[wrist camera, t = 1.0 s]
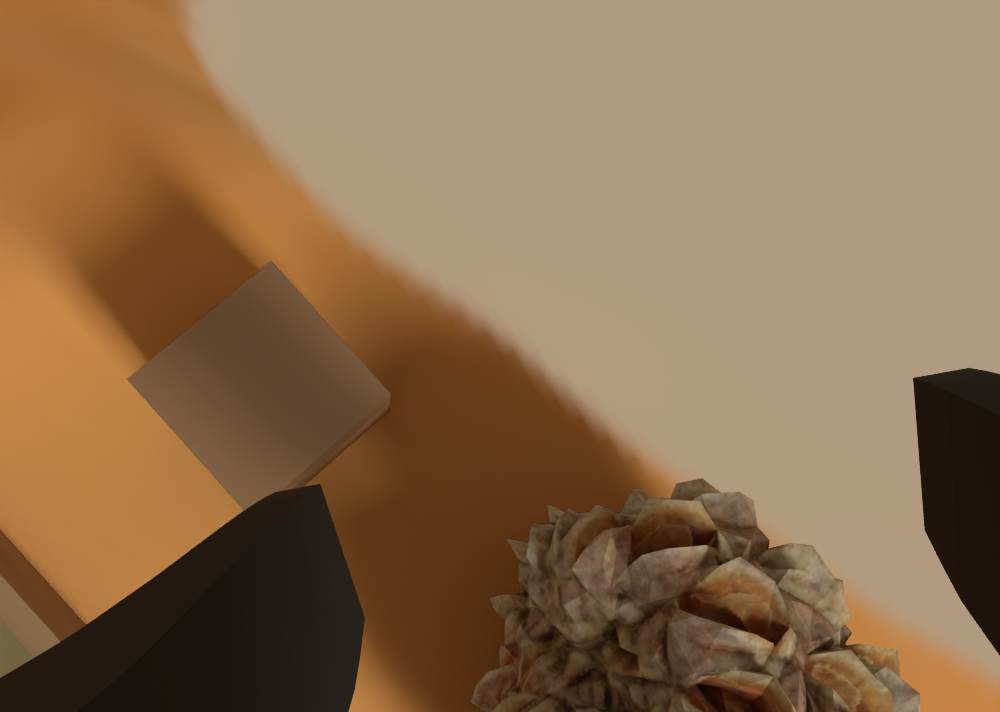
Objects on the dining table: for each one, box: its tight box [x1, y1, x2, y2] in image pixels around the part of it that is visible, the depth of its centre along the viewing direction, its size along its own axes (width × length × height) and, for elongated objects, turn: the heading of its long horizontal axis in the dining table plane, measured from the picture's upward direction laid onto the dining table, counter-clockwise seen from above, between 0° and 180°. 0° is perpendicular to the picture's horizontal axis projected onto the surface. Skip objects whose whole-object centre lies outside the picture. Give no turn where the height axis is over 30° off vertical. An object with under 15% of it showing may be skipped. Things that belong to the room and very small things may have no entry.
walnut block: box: [127, 261, 391, 510], centre depth 22 cm, size 4×4×5 cm
